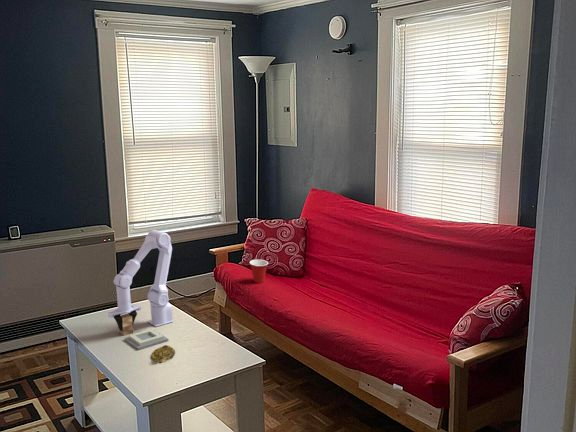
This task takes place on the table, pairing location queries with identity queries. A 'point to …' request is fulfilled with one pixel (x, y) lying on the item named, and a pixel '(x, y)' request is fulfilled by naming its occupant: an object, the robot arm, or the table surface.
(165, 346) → the mottled brown rock
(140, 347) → the plate
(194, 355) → the table surface
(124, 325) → the tan block
